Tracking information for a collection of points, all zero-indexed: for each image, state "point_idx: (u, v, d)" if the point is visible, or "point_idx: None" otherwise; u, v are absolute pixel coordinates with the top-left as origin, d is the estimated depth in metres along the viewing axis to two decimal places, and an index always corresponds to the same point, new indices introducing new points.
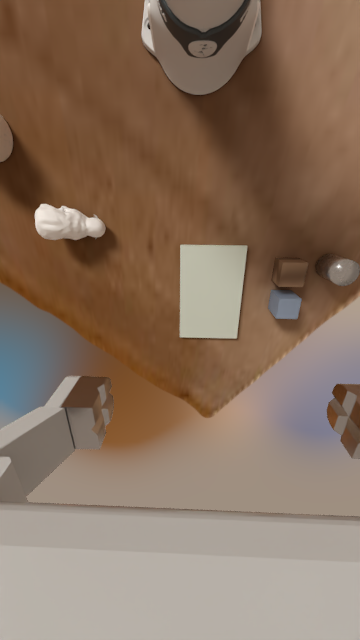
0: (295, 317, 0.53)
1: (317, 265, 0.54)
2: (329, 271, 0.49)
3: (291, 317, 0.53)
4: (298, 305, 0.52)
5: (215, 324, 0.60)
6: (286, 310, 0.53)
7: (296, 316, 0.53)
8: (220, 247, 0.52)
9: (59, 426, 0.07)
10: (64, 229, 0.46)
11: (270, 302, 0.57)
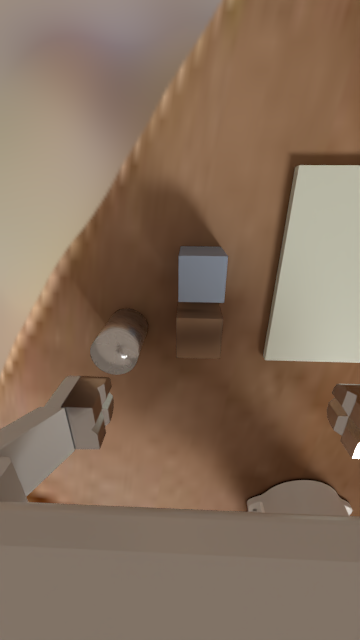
0: (183, 259, 0.23)
1: (146, 330, 0.32)
2: (139, 348, 0.28)
3: (192, 259, 0.23)
4: (182, 288, 0.24)
5: (346, 208, 0.25)
6: (205, 276, 0.24)
7: (181, 262, 0.23)
8: (308, 359, 0.33)
9: (59, 426, 0.07)
10: None
11: None
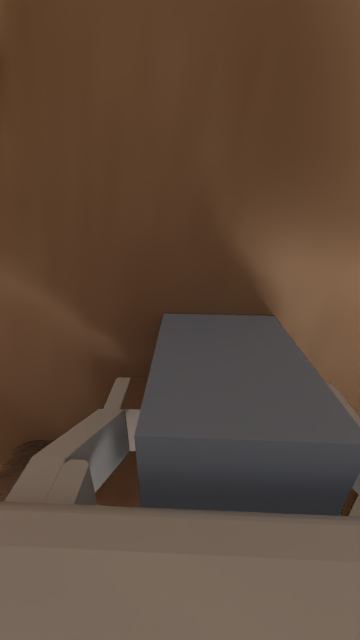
0: (158, 450, 0.05)
1: None
2: None
3: (201, 451, 0.05)
4: None
5: None
6: (255, 500, 0.06)
7: (150, 457, 0.05)
8: None
9: (119, 428, 0.07)
10: None
11: None
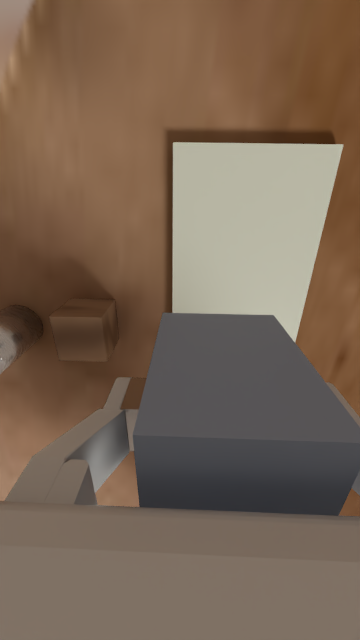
0: (157, 449, 0.05)
1: (40, 329, 0.29)
2: (12, 350, 0.25)
3: (200, 451, 0.05)
4: None
5: (233, 193, 0.22)
6: (254, 499, 0.05)
7: (149, 457, 0.05)
8: None
9: (119, 428, 0.07)
10: None
11: None
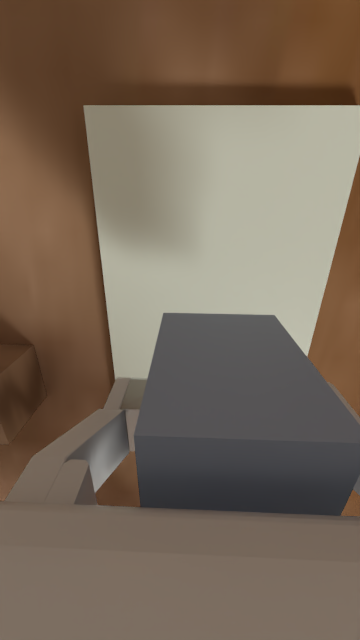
0: (158, 449, 0.05)
1: None
2: None
3: (201, 451, 0.05)
4: None
5: (190, 191, 0.14)
6: (255, 500, 0.05)
7: (150, 457, 0.05)
8: None
9: (119, 428, 0.07)
10: None
11: None
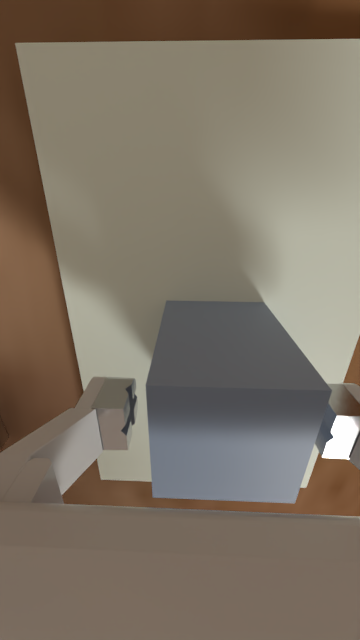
0: (164, 397, 0.06)
1: None
2: None
3: (198, 398, 0.06)
4: (163, 468, 0.07)
5: (181, 176, 0.09)
6: (242, 442, 0.07)
7: (158, 404, 0.06)
8: None
9: (90, 427, 0.07)
10: None
11: None
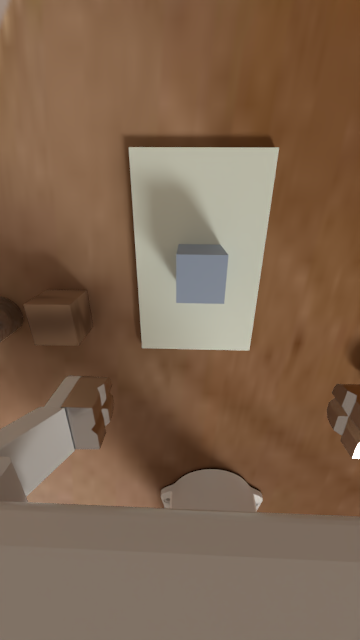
0: (181, 258, 0.22)
1: (19, 318, 0.32)
2: None
3: (191, 258, 0.22)
4: (180, 288, 0.23)
5: (185, 192, 0.25)
6: (204, 275, 0.22)
7: (179, 261, 0.22)
8: (184, 346, 0.32)
9: (59, 426, 0.07)
10: None
11: None
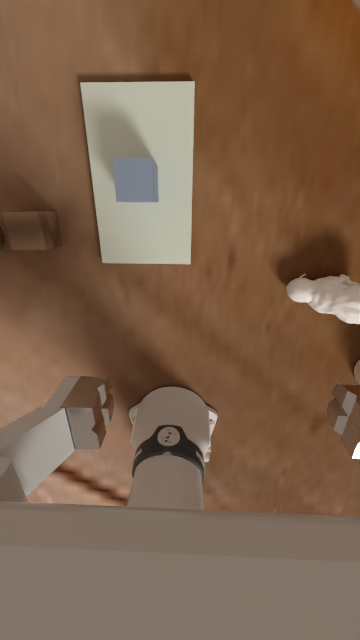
0: (116, 161, 0.29)
1: (1, 236, 0.39)
2: None
3: (123, 161, 0.29)
4: (118, 188, 0.30)
5: (126, 120, 0.32)
6: (135, 176, 0.29)
7: (115, 164, 0.29)
8: (137, 261, 0.39)
9: (59, 426, 0.07)
10: (344, 301, 0.34)
11: (157, 180, 0.34)
